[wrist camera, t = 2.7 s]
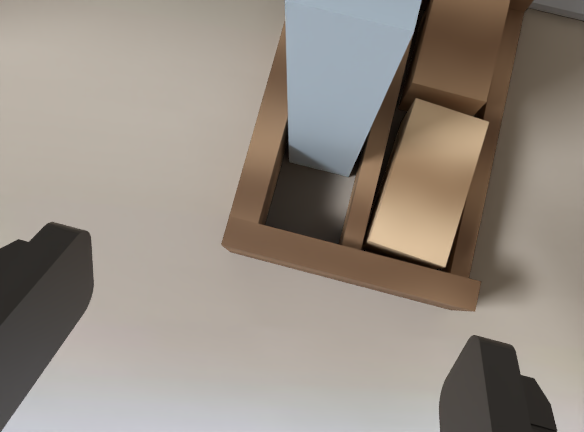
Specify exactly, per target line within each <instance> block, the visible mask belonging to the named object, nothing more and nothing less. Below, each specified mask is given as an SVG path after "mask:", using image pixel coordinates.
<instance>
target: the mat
mask: <svg viewBox="0 0 584 432" xmlns="http://www.w3.org/2000/svg"><path fill="white" fill-rule="evenodd" d="M528 8H532V9H536V10H540V11H544V12H549V13H553V14H557V15H561V16H566V17H570V18H574V19H578V20H582V21H584V0H534V1H533V2H532V3H531V5H530V6H529V7H528Z"/></svg>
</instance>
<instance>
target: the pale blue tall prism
mask: <svg viewBox="0 0 584 432" xmlns="http://www.w3.org/2000/svg"><path fill="white" fill-rule="evenodd" d="M421 1H422V0H285V24H286V62H287V100H288V137H289V162H291V163H295V164H299V165H303V166H307V167H311V168H315V169H319V170H323V171H326V172H330V173H334V174H338V175H342V176H346V177H349V175H350V173H351V170H352V168H353V166H354V164H355V162H356V159H357V157H358V155H359V153H360V150H361V148H362V146H363V144H364V142H365V139H366V137H367V135H368V133H369V130H370V128H371V126H372V124H373V122H374V119H375V117H376V115H377V113H378V111H379V108H380V106H381V104H382V102H383V99H384V97H385V95H386V93H387V91H388V88H389V86H390V84H391V82H392V79H393V77H394V75H395V73H396V71H397V68H398V66H399V64H400V62H401V60H402V57H403V55H404V53H405V51H406V48H407V46H408V44H409V42H410V40H411V37H412V35H413V33H414V30H415V26H416V22H417V17H418V13H419V9H420V5H421Z"/></svg>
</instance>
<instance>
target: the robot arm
mask: <svg viewBox="0 0 584 432" xmlns="http://www.w3.org/2000/svg"><path fill="white" fill-rule="evenodd" d="M93 287H94V279H93V263H92V246H91V236H90V234H89V232H88V231H85V230H81V229H77V228H74V227H70V226H66V225H62V224H59V223H55V222H50V223H48V224H46V225H45V226H44V227H43V228H42V229H41V230H40V231H39V232H38V233H37V234H36V235H35V236H34V237H33V238H32V239H31V240H30V242H27V241H23V240H19V239H18V240H16V241H14V242H12V243H10V244H8V245H6V246H4V247H2V248H1V249H0V432H1V431H2V429H3V428H4V426H5V425H6V424H7V422H8V421H9V419H10V418H11V416H12V415H13V414H14V412H15V411H16V409H17V408H18V406H19V405H20V404H21V402H22V401H23V399H24V398H25V397H26V395H27V394H28V392H29V391H30V389H31V388H32V387H33V385H34V384H35V382H36V381H37V379H38V378H39V377H40V375H41V374H42V372H43V371H44V369H45V368H46V367H47V365H48V364H49V362H50V361H51V359H52V358H53V357H54V355H55V354H56V352H57V351H58V349H59V348H60V347H61V345H62V344H63V342H64V341H65V339H66V338H67V337H68V335H69V334H70V332H71V331H72V329H73V328H74V327H75V325H76V324H77V322H78V321H79V319H80V318H81V317H82V315H83V314H84V312H85V311H86V309H87V307H88V305H89V302H90V300H91V297H92V293H93ZM439 419H440V432H557V428H556V424H555V420H554V416H553V412H552V408H551V404H550V403H549V401H548V399H547V398H546V396H545V395H544V393H543V392H542V390H541V388H540V387H539V385H538V384H537V382H536V381H535V379H534V378H530V377H527V376H523V375H520V370H519V365H518V360H517V355H516V351H515V349H514V347H513V346H512V345H510V344H506V343H503V342H499V341H495V340H491V339H488V338H484V337H480V336H476V335H473V336H471V337H470V338H469V340H468V341H467V343H466V345H465V346H464V348H463V350H462V352H461V353H460V355H459V357H458V359H457V360H456V362H455V364H454V365H453V367H452V369H451V371H450V372H449V374H448V376H447V378H446V379H445V382H444V384H443V387H442V391H441V395H440V402H439Z"/></svg>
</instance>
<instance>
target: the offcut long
mask: <svg viewBox="0 0 584 432" xmlns="http://www.w3.org/2000/svg"><path fill="white" fill-rule="evenodd" d="M488 125H489V122H488V121H485V120H482V119H479V118H476V117H472V116H469V115H466V114H463V113H460V112H457V111H454V110H451V109H448V108H445V107H442V106H439V105H436V104H433V103H430V102H427V101H424V100H421V99H418V98H416V99H415V100H414V102H413V104H412V105H411V107H410V109H409V110H408V112H407V113H406V115H405V117H404V118H403V120H402V122H401V124H400V127H399V130H398V133H397V136H396V139H395V142H394V146H393V149H392V152H391V155H390V158H389V161H388V164H387V167H386V170H385V173H384V176H383V179H382V182H381V185H380V188H379V191H378V194H377V197H376V200H375V203H374V206H373V209H372V212H371V215H370V218H369V221H368V224H367V227H366V231H365V235H364V239H363V243H362V247H361V249H363V250H366V251H369V252H372V253H375V254H378V255H381V256H385V257H389V258H392V259H396V260H400V261H404V262H408V263H412V264H416V265H419V266H423V267H427V268H431V269H439V268H444V267H446V263H447V260H448V257H449V253H450V250H451V247H452V243H453V240H454V237H455V234H456V230H457V227H458V224H459V220H460V217H461V214H462V210H463V207H464V204H465V201H466V197H467V194H468V191H469V187H470V184H471V181H472V177H473V174H474V171H475V168H476V164H477V161H478V158H479V154H480V151H481V148H482V144H483V141H484V138H485V135H486V131H487V128H488Z"/></svg>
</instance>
